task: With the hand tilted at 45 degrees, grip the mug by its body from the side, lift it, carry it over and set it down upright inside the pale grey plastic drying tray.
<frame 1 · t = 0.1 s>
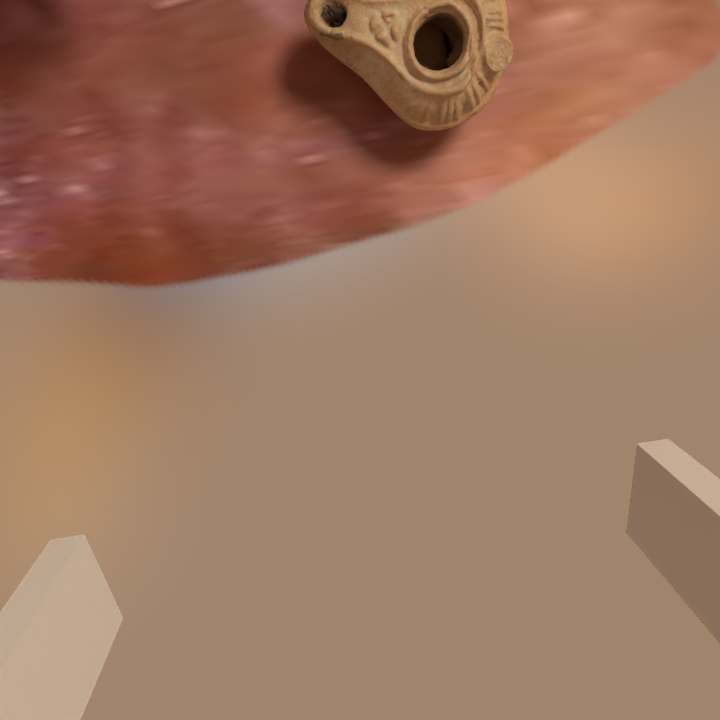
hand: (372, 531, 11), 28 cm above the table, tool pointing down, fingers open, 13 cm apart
pottery oil lamp: (402, 44, 32), on the table
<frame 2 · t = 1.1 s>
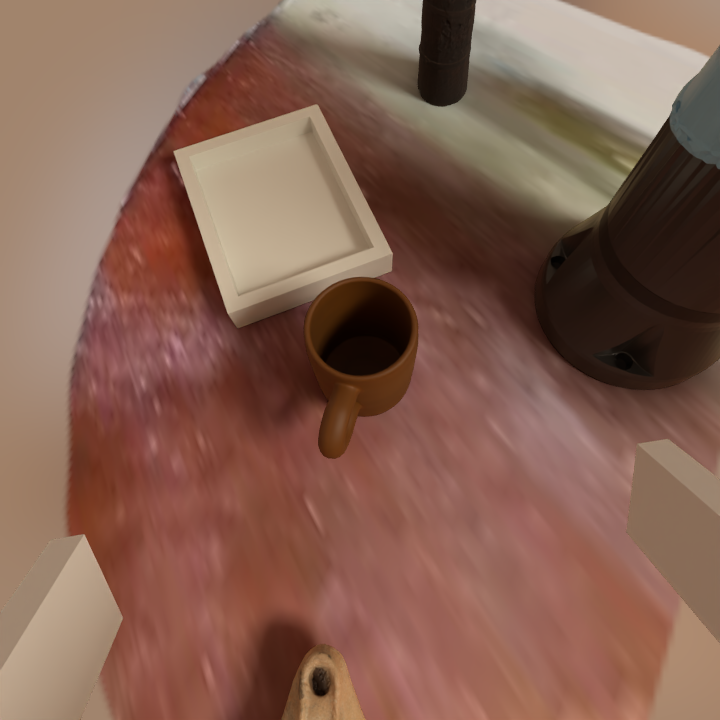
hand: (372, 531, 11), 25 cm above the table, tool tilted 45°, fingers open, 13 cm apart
drying tray: (282, 219, 45), on the table
mug: (357, 400, 38), on the table
butter churn: (431, 86, 50), on the table
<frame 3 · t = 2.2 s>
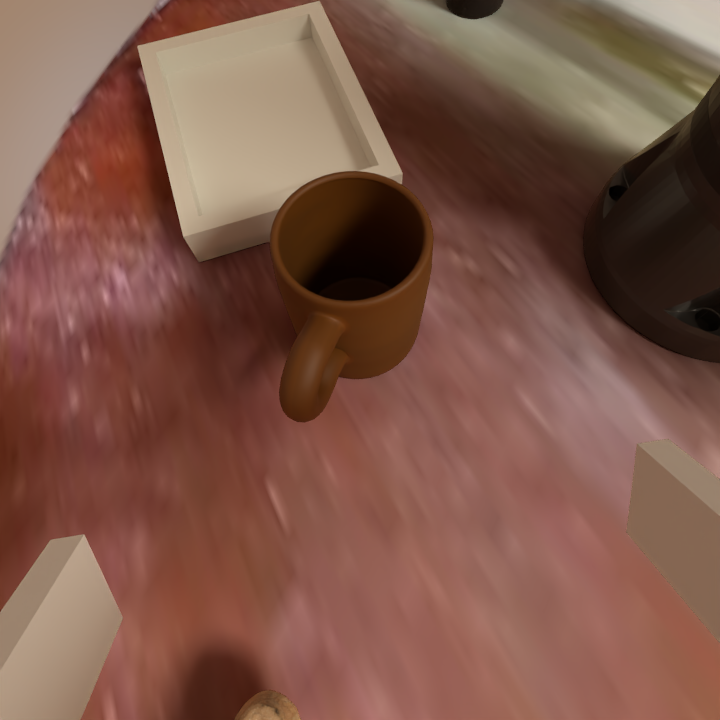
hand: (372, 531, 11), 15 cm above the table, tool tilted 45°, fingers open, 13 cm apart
drying tray: (267, 136, 36), on the table
mug: (346, 358, 29), on the table
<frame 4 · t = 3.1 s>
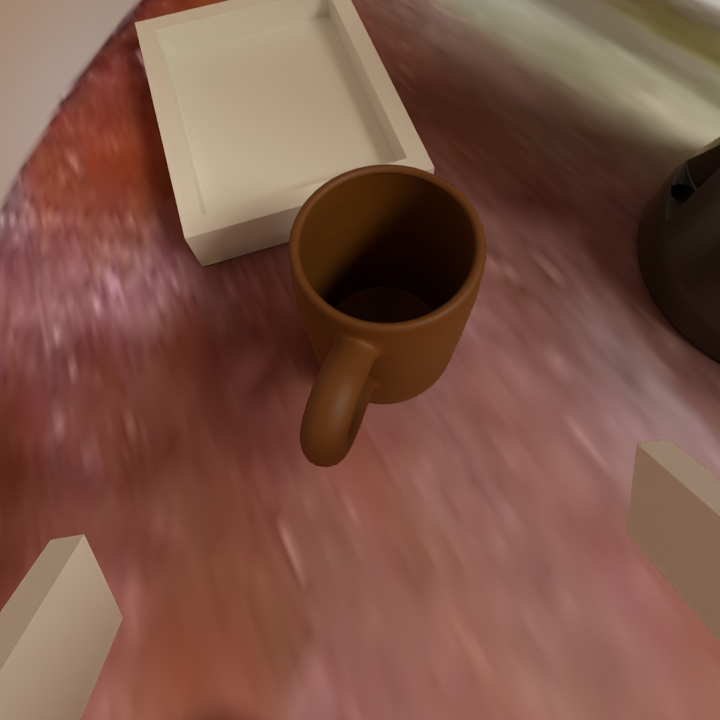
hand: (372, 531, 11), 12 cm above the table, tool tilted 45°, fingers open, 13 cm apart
drying tray: (279, 126, 32), on the table
mug: (369, 379, 26), on the table
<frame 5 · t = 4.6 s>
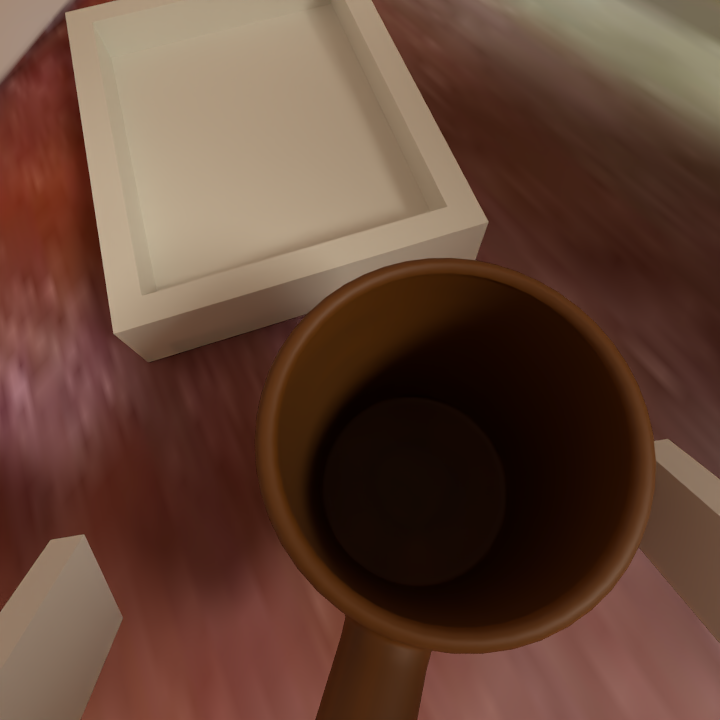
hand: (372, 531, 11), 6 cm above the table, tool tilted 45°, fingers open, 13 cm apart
drying tray: (263, 153, 23), on the table
mug: (395, 547, 17), on the table
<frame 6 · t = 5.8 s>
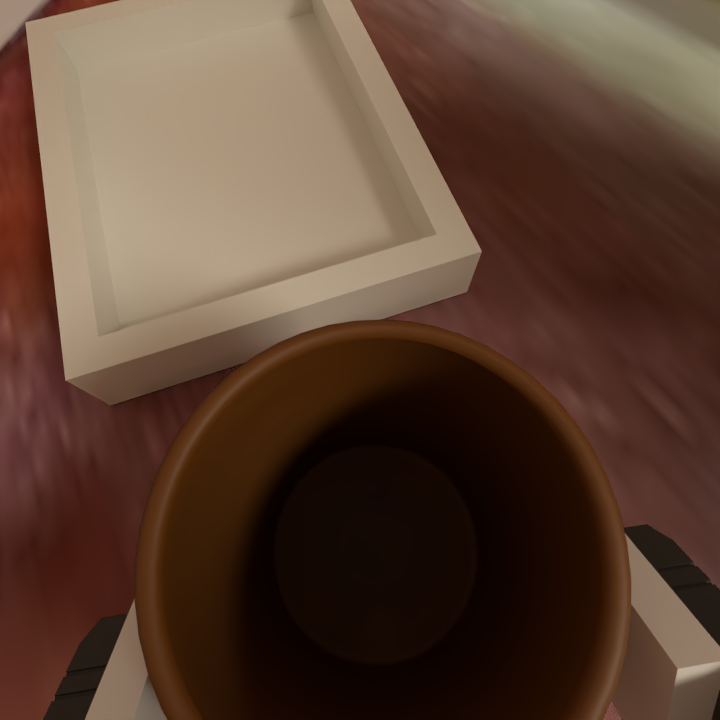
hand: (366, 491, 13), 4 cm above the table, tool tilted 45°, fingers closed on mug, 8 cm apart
drying tray: (240, 172, 22), on the table
mug: (356, 617, 15), on the table, touching gripper
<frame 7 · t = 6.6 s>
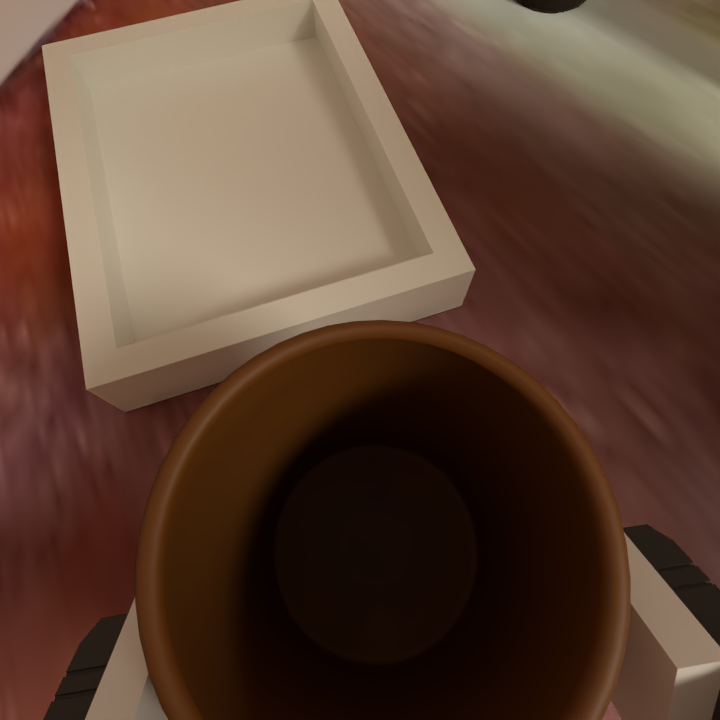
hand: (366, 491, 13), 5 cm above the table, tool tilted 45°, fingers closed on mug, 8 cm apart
drying tray: (246, 190, 23), on the table
mug: (355, 617, 15), point 1 cm above the table, touching gripper
when the fingers open (6 cm above the table, at t = 11.0 s): mug drops 1 cm, resting on drying tray.
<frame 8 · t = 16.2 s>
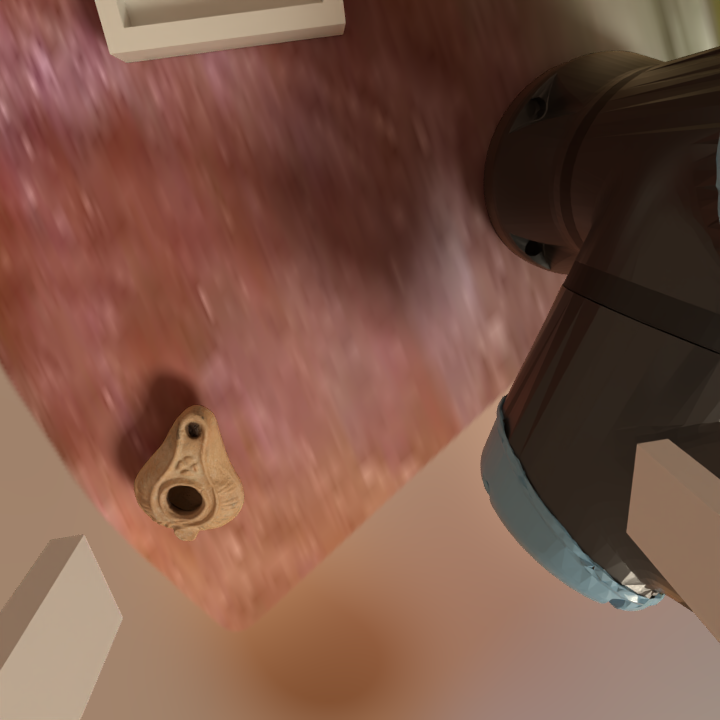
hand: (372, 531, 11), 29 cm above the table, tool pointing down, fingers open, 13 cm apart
pottery oil lamp: (203, 453, 43), on the table
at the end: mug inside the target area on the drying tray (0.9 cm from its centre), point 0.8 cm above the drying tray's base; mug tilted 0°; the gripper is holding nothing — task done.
